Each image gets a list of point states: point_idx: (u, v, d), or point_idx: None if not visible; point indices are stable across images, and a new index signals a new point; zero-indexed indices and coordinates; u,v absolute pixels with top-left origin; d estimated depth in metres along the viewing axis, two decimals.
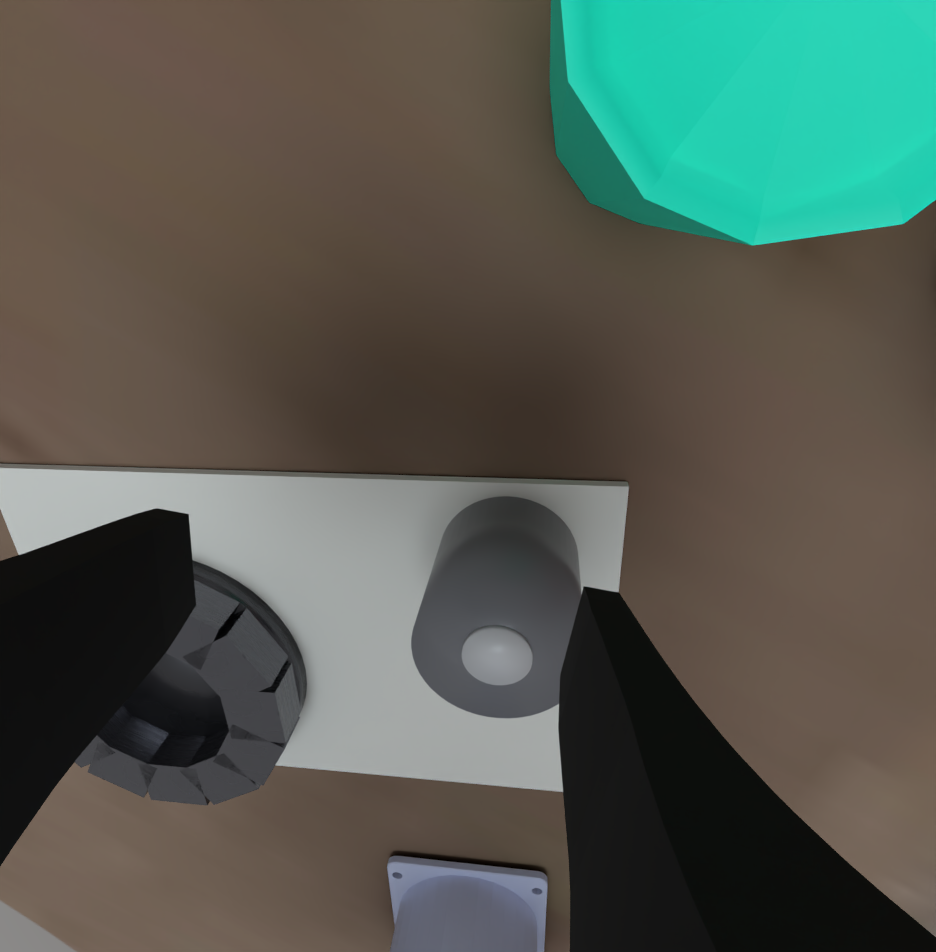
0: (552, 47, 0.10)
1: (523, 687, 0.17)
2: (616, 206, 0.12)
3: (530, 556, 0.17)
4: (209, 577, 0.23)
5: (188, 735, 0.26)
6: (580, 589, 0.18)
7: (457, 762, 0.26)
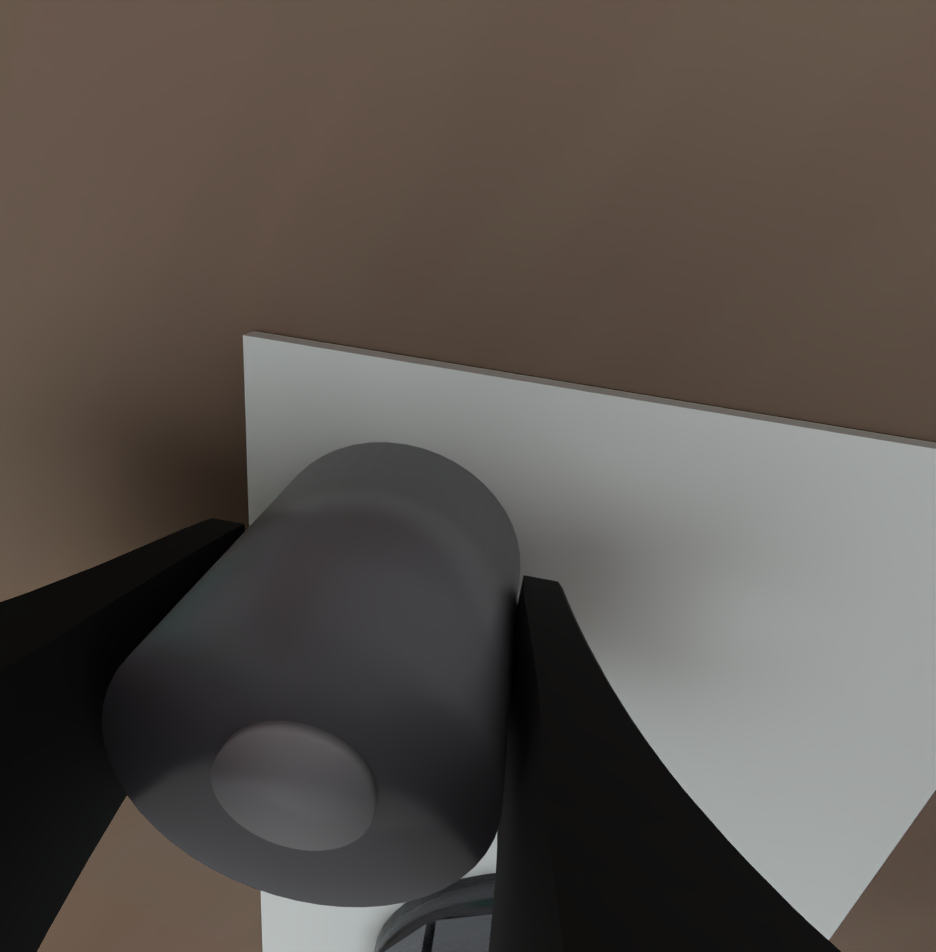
0: None
1: (401, 756, 0.07)
2: None
3: None
4: (397, 926, 0.16)
5: None
6: (322, 507, 0.08)
7: (897, 742, 0.12)
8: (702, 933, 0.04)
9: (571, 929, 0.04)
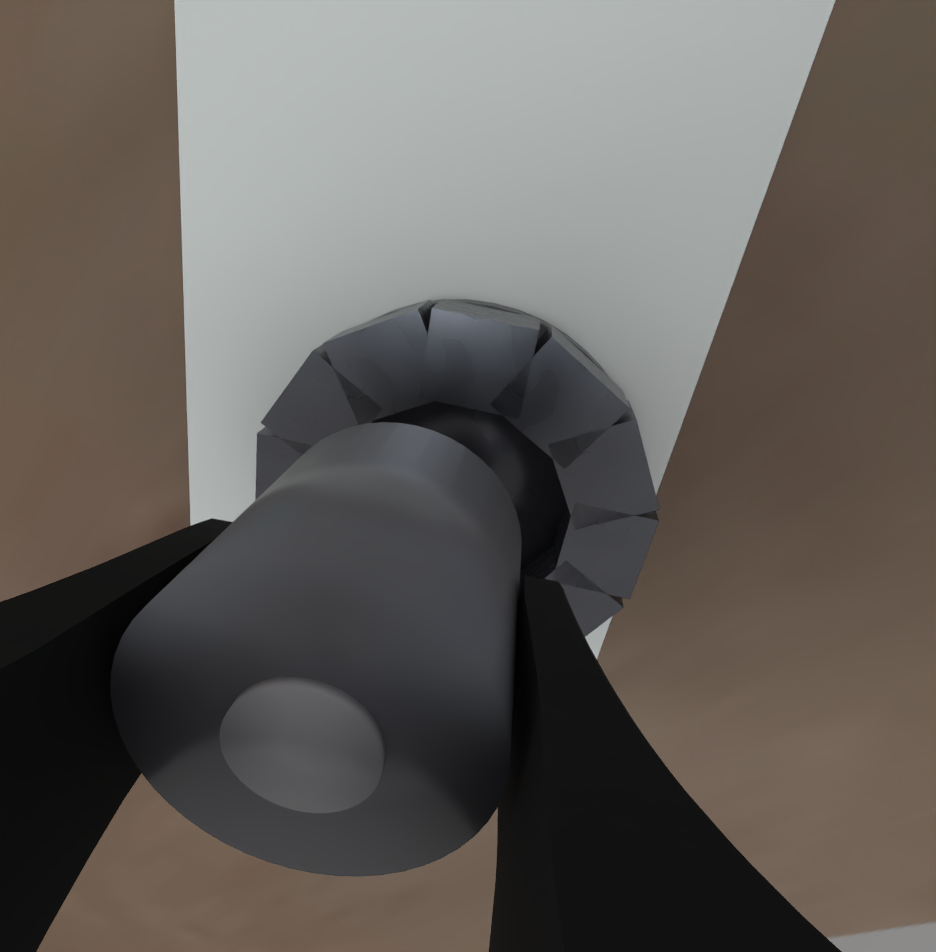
0: None
1: (406, 706, 0.07)
2: None
3: None
4: None
5: (563, 516, 0.18)
6: (318, 478, 0.08)
7: (753, 63, 0.13)
8: (702, 933, 0.04)
9: (571, 929, 0.04)
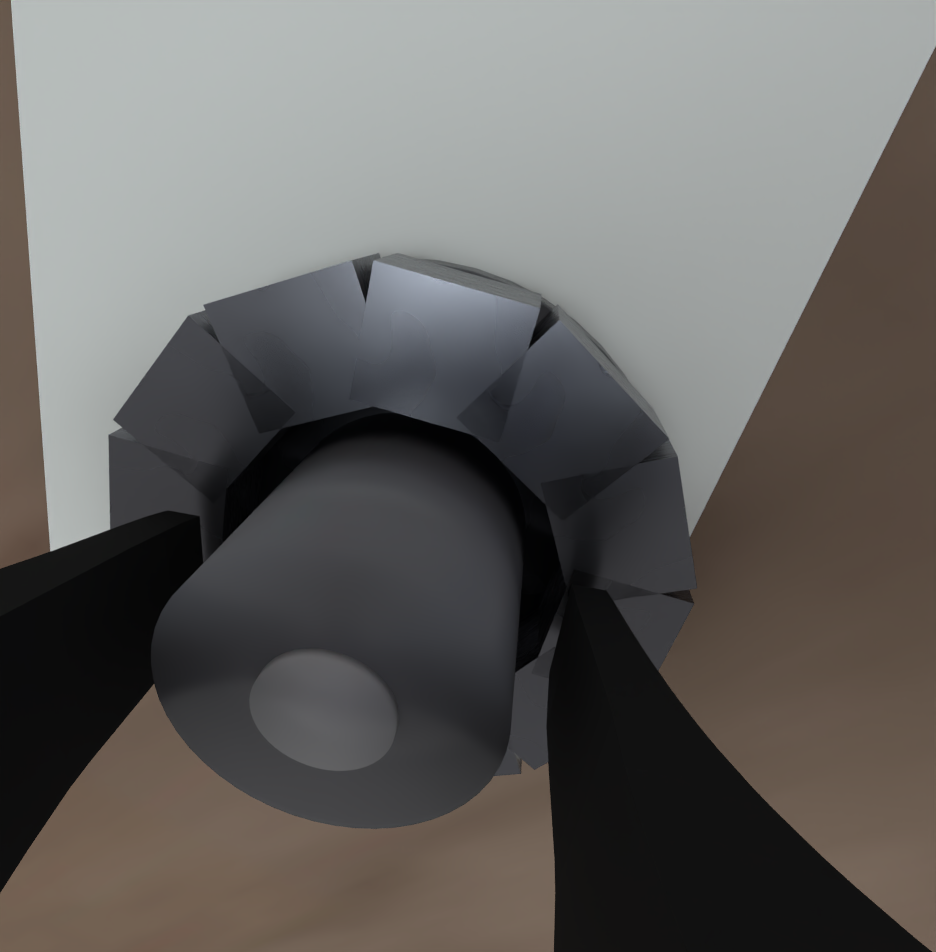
0: None
1: (417, 675, 0.08)
2: None
3: None
4: None
5: (554, 576, 0.13)
6: (335, 467, 0.09)
7: None
8: None
9: None
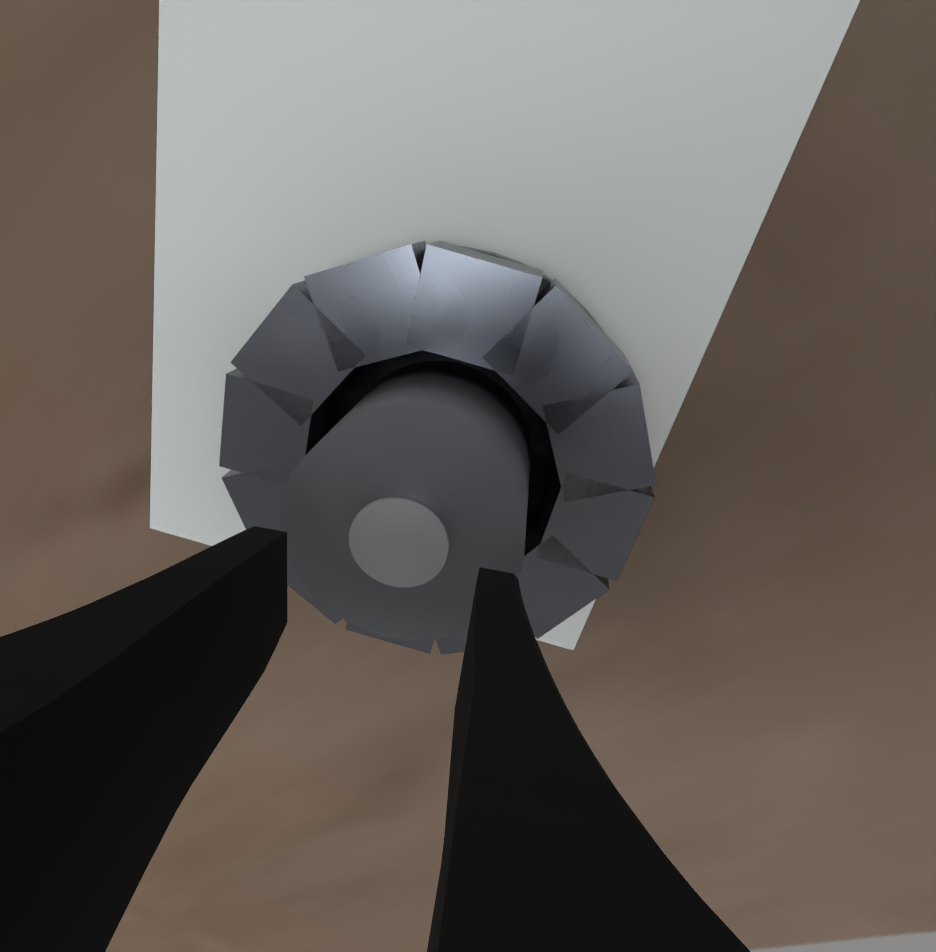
0: None
1: (462, 513, 0.11)
2: None
3: None
4: None
5: (552, 489, 0.16)
6: (398, 388, 0.13)
7: (793, 3, 0.12)
8: (588, 909, 0.04)
9: (454, 904, 0.04)
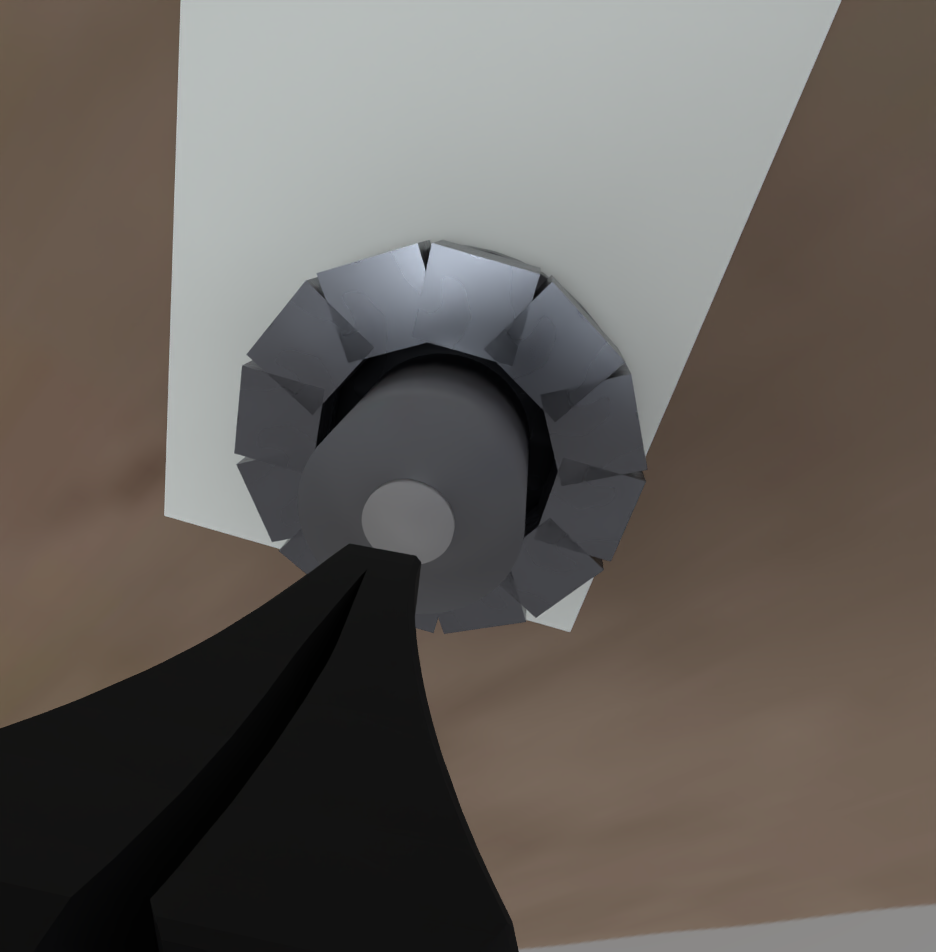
0: None
1: (467, 494, 0.12)
2: None
3: None
4: None
5: (549, 476, 0.17)
6: (405, 379, 0.14)
7: (772, 19, 0.13)
8: (345, 857, 0.04)
9: (203, 850, 0.04)
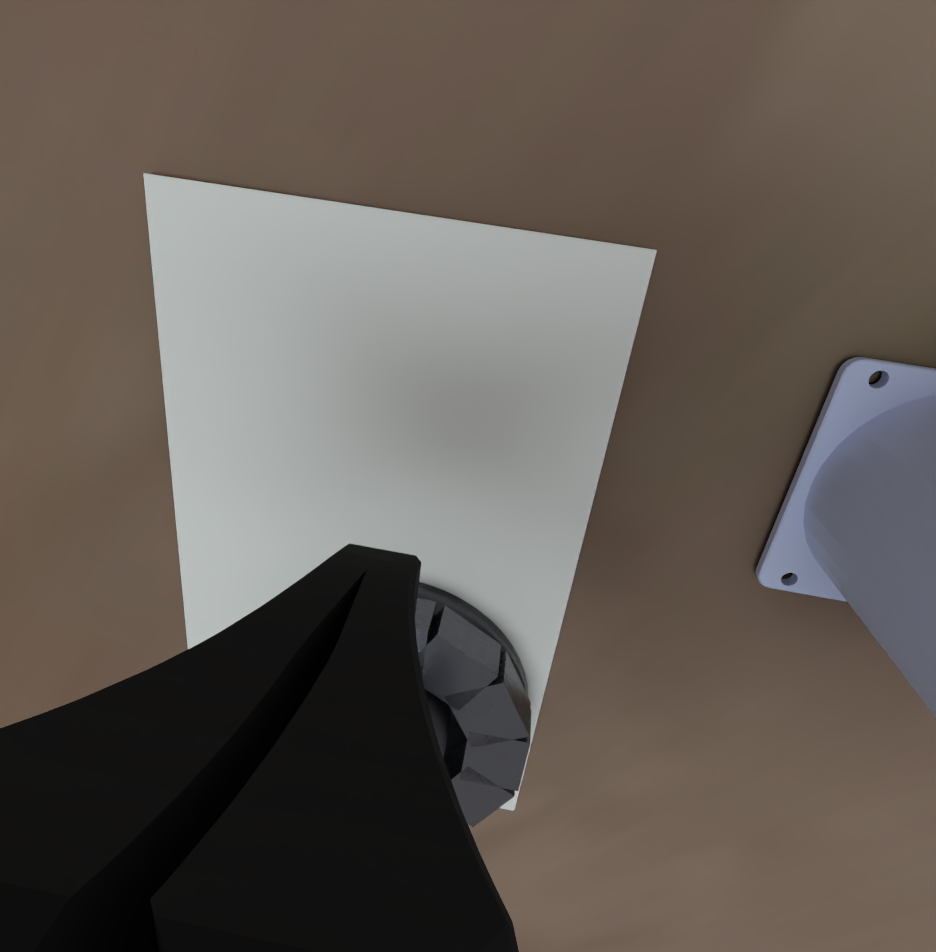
0: None
1: None
2: None
3: None
4: None
5: None
6: None
7: (566, 446, 0.19)
8: (345, 857, 0.04)
9: (203, 850, 0.04)
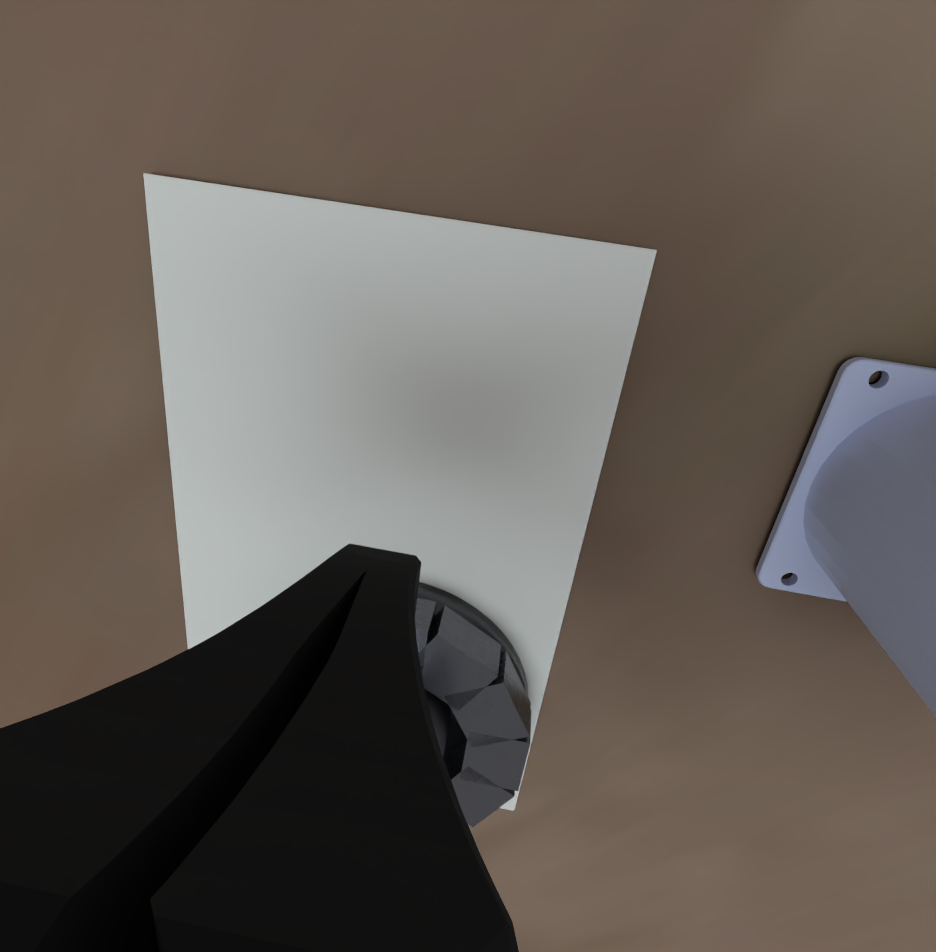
0: None
1: None
2: None
3: None
4: None
5: None
6: None
7: (566, 446, 0.19)
8: (345, 857, 0.04)
9: (203, 850, 0.04)
